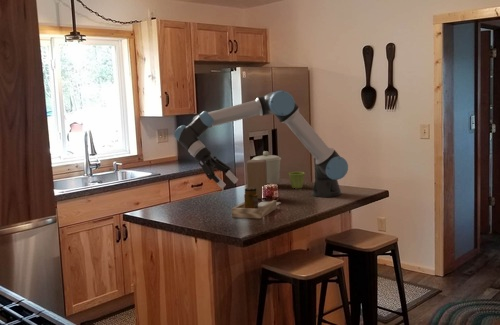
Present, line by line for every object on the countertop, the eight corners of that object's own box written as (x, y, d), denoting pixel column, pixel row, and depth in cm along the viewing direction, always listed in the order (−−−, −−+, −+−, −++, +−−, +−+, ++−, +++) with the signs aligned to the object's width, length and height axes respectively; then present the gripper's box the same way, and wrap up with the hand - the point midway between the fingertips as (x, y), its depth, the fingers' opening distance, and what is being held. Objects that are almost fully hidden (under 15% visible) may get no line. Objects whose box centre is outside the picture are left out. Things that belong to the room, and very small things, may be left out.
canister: (246, 187, 312) (244, 152, 309) (266, 182, 325) (264, 149, 322) (269, 189, 300) (267, 153, 297) (288, 184, 313) (287, 149, 310)
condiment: (255, 211, 244) (253, 186, 243) (263, 214, 237) (262, 189, 235) (241, 213, 241) (239, 188, 240) (249, 217, 234) (247, 191, 232)
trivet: (280, 203, 260) (280, 202, 260) (273, 207, 251) (273, 206, 250) (262, 202, 264) (261, 201, 264) (254, 206, 254) (254, 205, 254)
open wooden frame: (276, 208, 248) (276, 200, 248) (260, 218, 230) (260, 209, 229) (249, 207, 254) (249, 199, 253) (232, 217, 235) (231, 208, 235)
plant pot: (307, 186, 303) (306, 171, 302) (302, 189, 295) (301, 174, 294) (292, 186, 307) (291, 171, 306) (286, 189, 298) (286, 174, 297)
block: (268, 195, 282) (266, 159, 279) (266, 199, 272) (265, 161, 269) (249, 196, 283) (247, 159, 280) (247, 199, 273) (245, 162, 270)
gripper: (207, 154, 258) (236, 185, 254) (182, 161, 235) (213, 194, 231) (216, 144, 255) (246, 174, 251) (191, 149, 232) (223, 183, 228)
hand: (230, 184), depth 241 cm, fingers open, 13 cm apart
